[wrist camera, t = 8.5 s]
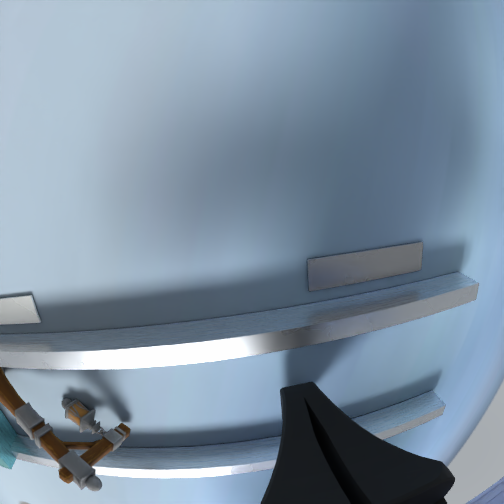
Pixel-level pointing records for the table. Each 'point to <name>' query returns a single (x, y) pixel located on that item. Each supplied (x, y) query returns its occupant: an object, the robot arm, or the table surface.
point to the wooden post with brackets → (68, 461)
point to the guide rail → (237, 356)
